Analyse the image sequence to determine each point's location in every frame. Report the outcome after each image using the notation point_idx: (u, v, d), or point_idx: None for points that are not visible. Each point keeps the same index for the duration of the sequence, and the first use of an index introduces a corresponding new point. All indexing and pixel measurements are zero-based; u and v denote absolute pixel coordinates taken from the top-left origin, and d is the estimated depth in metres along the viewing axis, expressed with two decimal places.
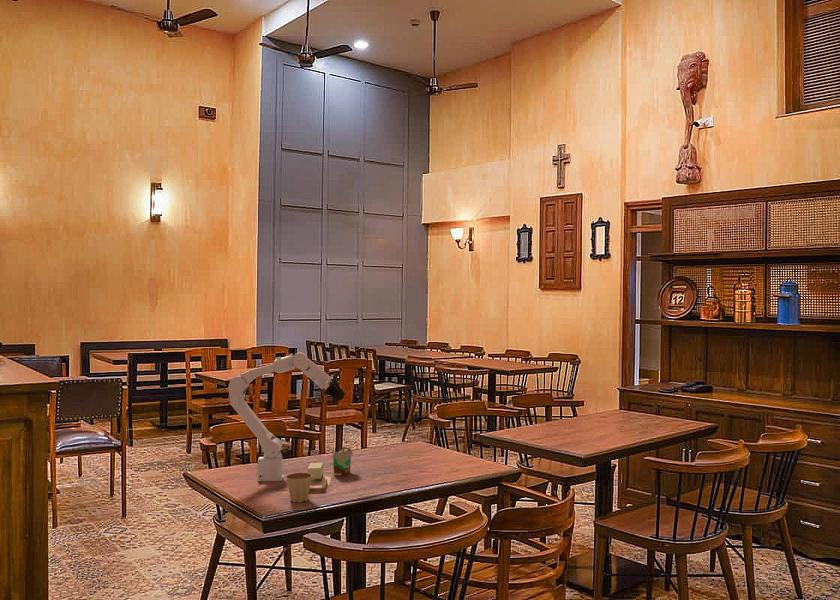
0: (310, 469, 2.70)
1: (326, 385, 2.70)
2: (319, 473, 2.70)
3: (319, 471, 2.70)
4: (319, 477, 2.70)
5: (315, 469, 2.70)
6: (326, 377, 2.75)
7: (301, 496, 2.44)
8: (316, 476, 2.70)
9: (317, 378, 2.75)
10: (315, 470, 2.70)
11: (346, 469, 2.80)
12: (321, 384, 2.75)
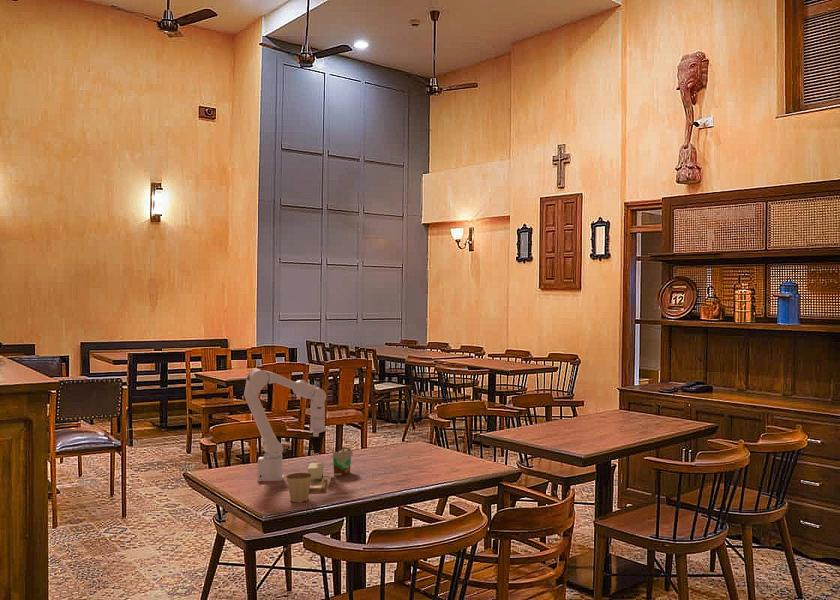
0: (310, 469, 2.70)
1: (316, 434, 2.76)
2: (319, 473, 2.70)
3: (319, 471, 2.70)
4: (319, 477, 2.70)
5: (315, 469, 2.70)
6: (322, 426, 2.82)
7: (301, 496, 2.44)
8: (316, 476, 2.70)
9: (315, 421, 2.81)
10: (315, 470, 2.70)
11: (346, 469, 2.80)
12: (313, 427, 2.81)
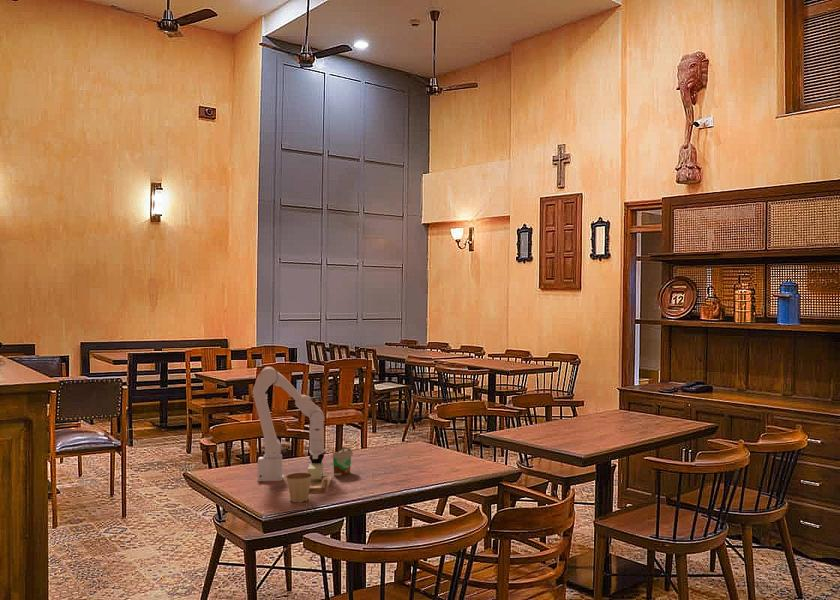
0: (310, 469, 2.69)
1: (316, 456, 2.73)
2: (319, 473, 2.69)
3: (319, 471, 2.69)
4: (319, 477, 2.69)
5: (315, 469, 2.69)
6: (321, 448, 2.78)
7: (301, 496, 2.44)
8: (316, 477, 2.69)
9: (314, 443, 2.77)
10: (315, 471, 2.69)
11: (346, 469, 2.80)
12: (312, 449, 2.77)
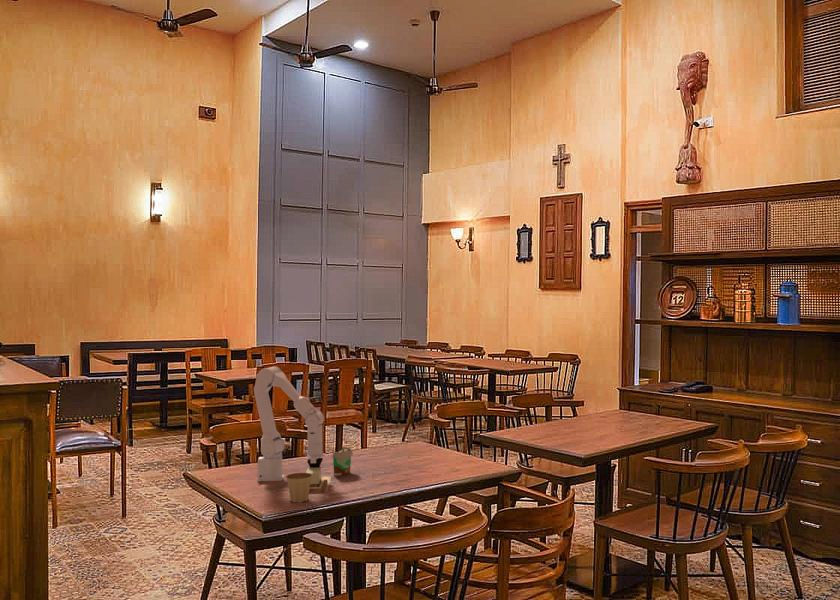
0: None
1: (314, 460, 2.65)
2: (317, 478, 2.62)
3: (317, 476, 2.62)
4: (317, 482, 2.62)
5: (313, 474, 2.62)
6: (319, 452, 2.71)
7: (301, 496, 2.44)
8: (314, 482, 2.62)
9: (312, 446, 2.70)
10: (313, 476, 2.62)
11: (346, 469, 2.80)
12: (311, 453, 2.70)
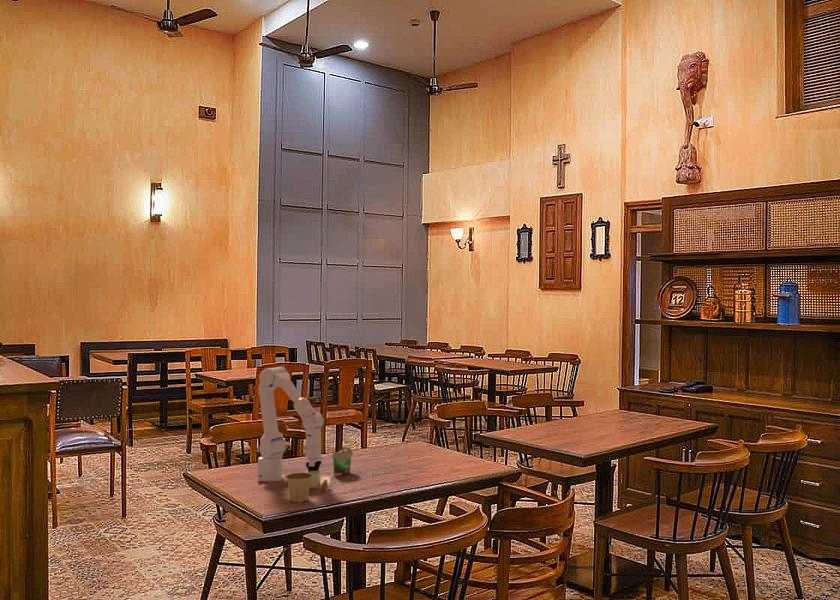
0: None
1: (312, 464, 2.60)
2: (315, 482, 2.57)
3: (315, 480, 2.57)
4: (315, 486, 2.57)
5: (311, 477, 2.57)
6: (318, 455, 2.66)
7: (301, 496, 2.44)
8: (312, 485, 2.57)
9: (310, 449, 2.65)
10: (311, 479, 2.57)
11: (346, 469, 2.80)
12: (309, 456, 2.65)
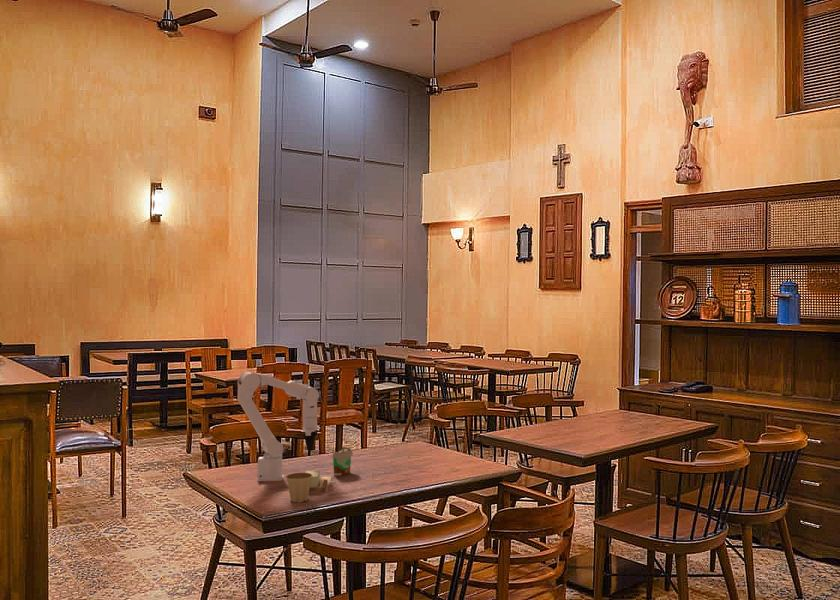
0: None
1: (309, 433, 2.76)
2: (315, 482, 2.57)
3: (315, 480, 2.57)
4: (315, 486, 2.57)
5: (311, 477, 2.57)
6: (314, 425, 2.81)
7: (301, 496, 2.44)
8: (312, 485, 2.57)
9: (307, 420, 2.80)
10: (311, 479, 2.57)
11: (346, 469, 2.80)
12: (306, 427, 2.80)
